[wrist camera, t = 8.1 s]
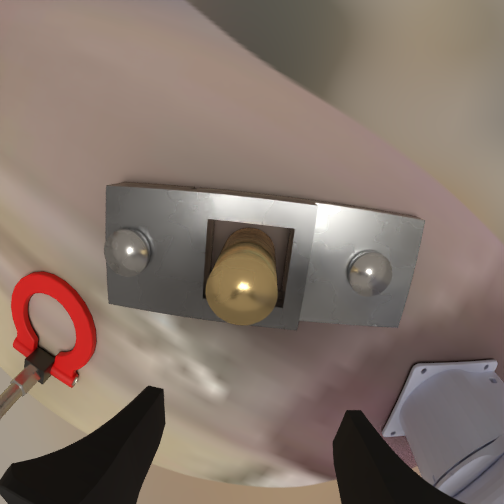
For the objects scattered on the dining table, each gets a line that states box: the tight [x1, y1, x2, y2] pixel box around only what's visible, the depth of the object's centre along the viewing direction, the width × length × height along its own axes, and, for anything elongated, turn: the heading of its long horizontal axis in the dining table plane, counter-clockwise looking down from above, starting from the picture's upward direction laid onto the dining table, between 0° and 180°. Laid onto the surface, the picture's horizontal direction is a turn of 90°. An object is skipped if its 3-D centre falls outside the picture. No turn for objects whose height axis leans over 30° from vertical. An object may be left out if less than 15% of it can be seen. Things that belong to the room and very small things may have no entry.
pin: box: [206, 228, 278, 325], centre depth 16 cm, size 3×3×6 cm
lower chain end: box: [197, 187, 425, 328], centre depth 18 cm, size 13×7×2 cm, turn 84°
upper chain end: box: [104, 182, 318, 330], centre depth 18 cm, size 11×7×3 cm, turn 84°
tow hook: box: [0, 271, 96, 419], centre depth 15 cm, size 8×13×9 cm
